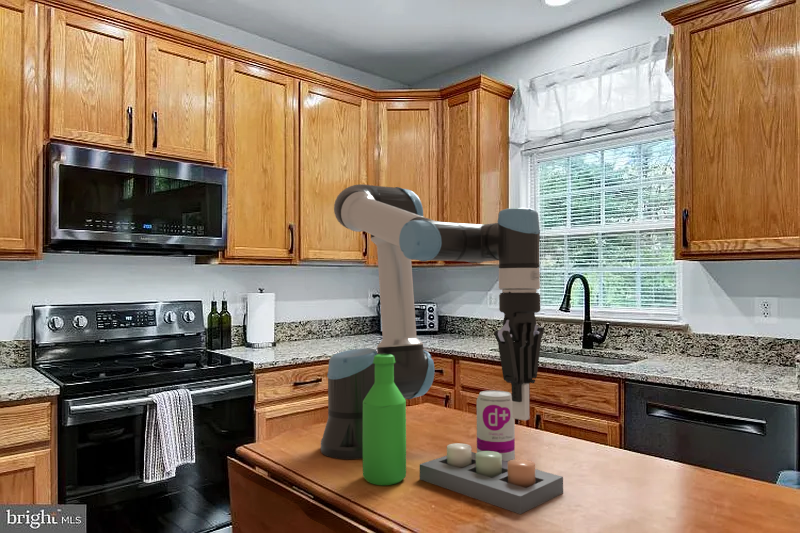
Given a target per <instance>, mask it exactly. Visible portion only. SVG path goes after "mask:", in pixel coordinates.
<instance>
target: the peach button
mask: <svg viewBox="0 0 800 533" xmlns="http://www.w3.org/2000/svg"><path fill="white" fill-rule="evenodd" d="M535 469H536V463H535V462H534V461H531V460H529V459H520V458H519V459H517V458H515V460H510V461H508V483H511V484H514V485H517V486H521V487H530V486H532V485H534V484H535Z"/></svg>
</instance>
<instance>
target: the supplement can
mask: <svg viewBox="0 0 800 533" xmlns="http://www.w3.org/2000/svg"><path fill="white" fill-rule="evenodd" d="M515 427H516V426H515V418H513V412H512V392H509V391H504V390H483V391H480V392H479V394H478V396H477V398H476V453H477V452H480V451H494V452H498V453H500V454H501V455H502V460H503V461H507V462H508V461H510V460H515V459H516V452H515V451H516V443H515V441H516V438H515V436H516V435H515V434H516V433H515V432H516V431H515V430H516V428H515Z"/></svg>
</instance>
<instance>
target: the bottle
mask: <svg viewBox="0 0 800 533" xmlns="http://www.w3.org/2000/svg"><path fill="white" fill-rule="evenodd" d="M373 363H374V364H375V383H374V385H373V386H372V388H371V389H370V391H369V392H368V394H367V396H366V397H365V399H364V400H363V458H362V477H363V479H364V480H366V481H367V483H370V484H371V485H375V486H392V485H396V484H399V483H400V482H402V481H403V480H404V479H405V478H406V477H407V414H406V413H407V412H406V411H407V409H406V408H407V406H406V405H407V402H406V401H407V399H405V398H404V397H403V395H402V394H401V392H400V391H399V389H398V388H397V386H396V385H395V383H394V363H395V358H394V356H393V355H391V354H378V355H375V356H374V360H373Z"/></svg>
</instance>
